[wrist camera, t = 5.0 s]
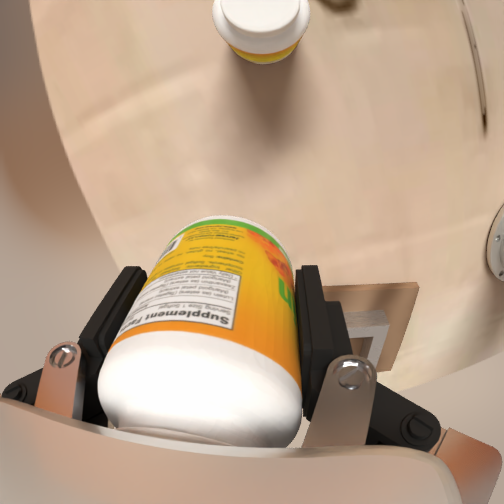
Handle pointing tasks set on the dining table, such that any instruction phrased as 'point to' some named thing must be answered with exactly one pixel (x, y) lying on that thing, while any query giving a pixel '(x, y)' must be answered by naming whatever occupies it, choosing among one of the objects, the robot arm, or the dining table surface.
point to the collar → (368, 331)
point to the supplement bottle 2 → (261, 27)
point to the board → (378, 298)
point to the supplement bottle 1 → (210, 342)
